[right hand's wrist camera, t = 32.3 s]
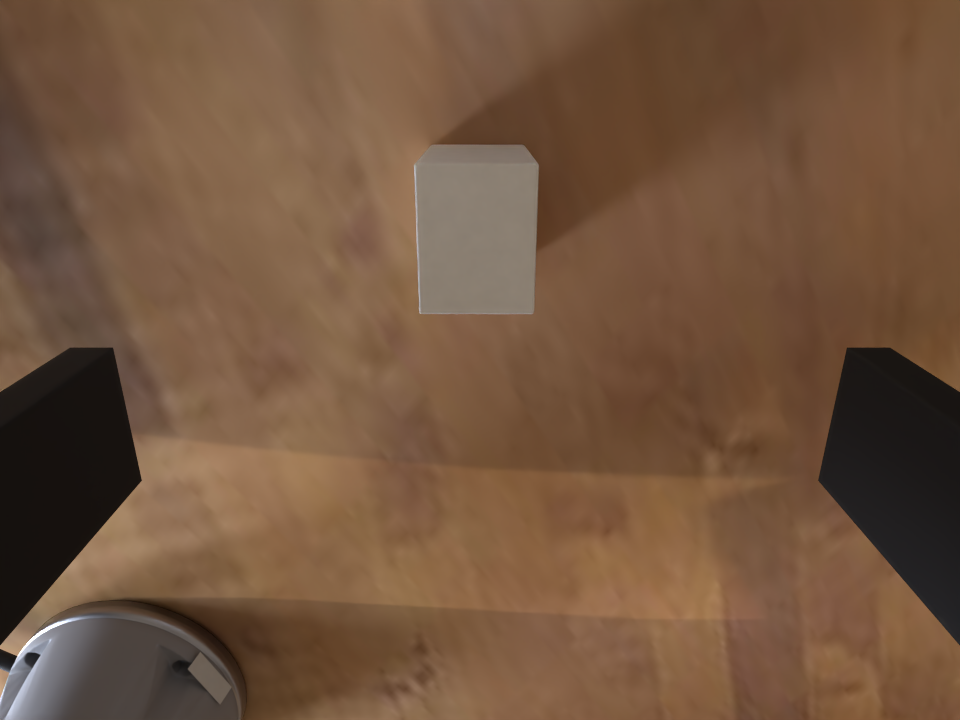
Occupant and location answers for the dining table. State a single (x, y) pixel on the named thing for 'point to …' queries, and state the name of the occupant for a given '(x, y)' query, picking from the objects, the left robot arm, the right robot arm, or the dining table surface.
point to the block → (476, 229)
